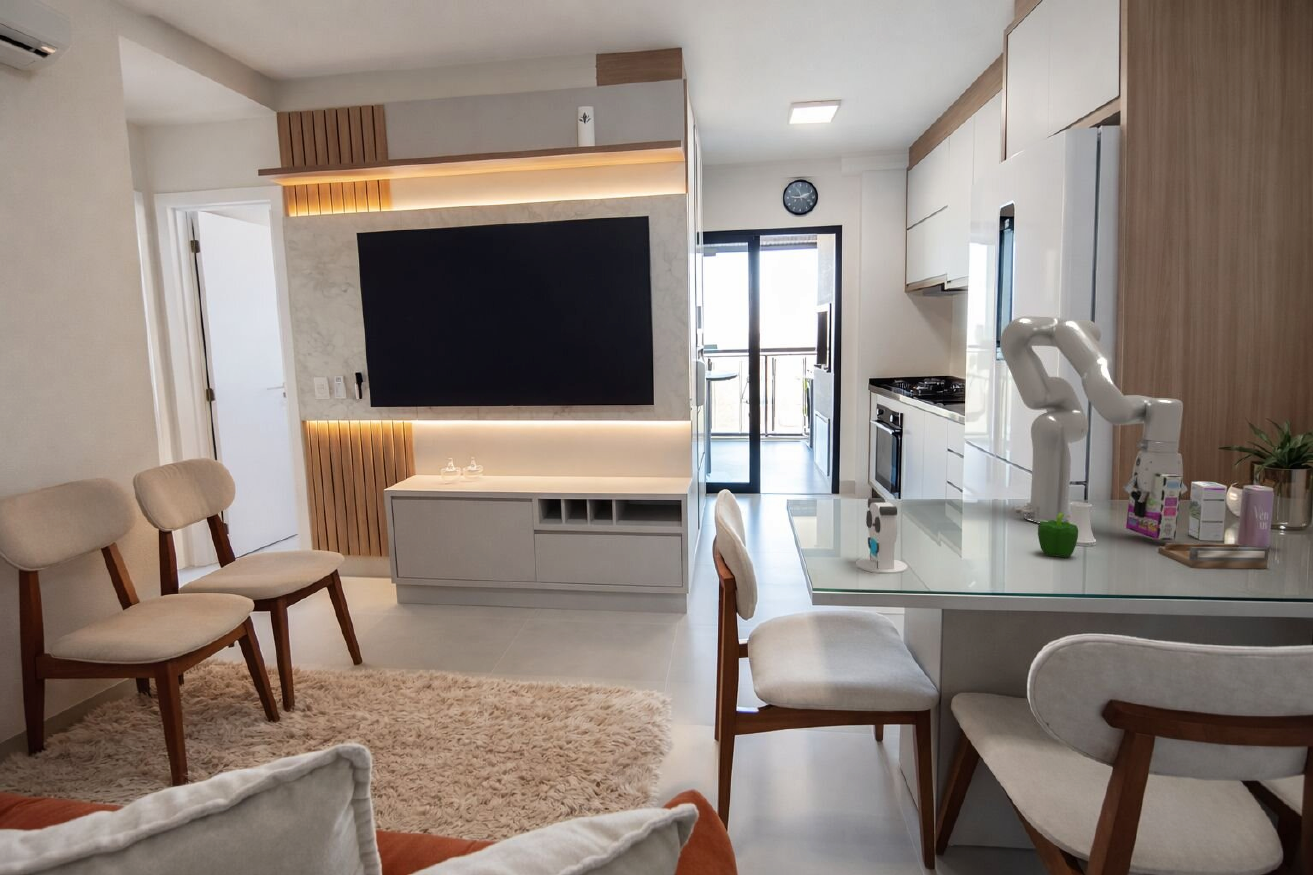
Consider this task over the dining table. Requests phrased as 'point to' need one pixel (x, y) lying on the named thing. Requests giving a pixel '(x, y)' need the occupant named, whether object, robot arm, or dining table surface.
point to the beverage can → (1255, 516)
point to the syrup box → (1207, 511)
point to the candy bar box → (1158, 509)
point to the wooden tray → (1216, 555)
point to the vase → (1082, 523)
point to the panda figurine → (881, 538)
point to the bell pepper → (1057, 537)
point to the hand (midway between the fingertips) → (1151, 516)
